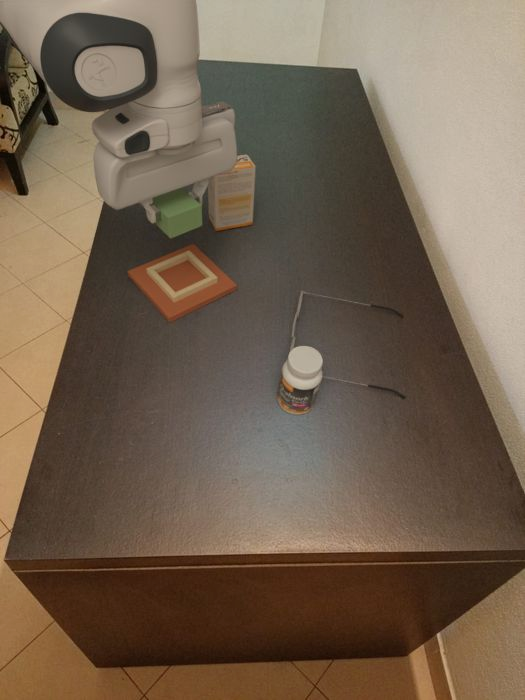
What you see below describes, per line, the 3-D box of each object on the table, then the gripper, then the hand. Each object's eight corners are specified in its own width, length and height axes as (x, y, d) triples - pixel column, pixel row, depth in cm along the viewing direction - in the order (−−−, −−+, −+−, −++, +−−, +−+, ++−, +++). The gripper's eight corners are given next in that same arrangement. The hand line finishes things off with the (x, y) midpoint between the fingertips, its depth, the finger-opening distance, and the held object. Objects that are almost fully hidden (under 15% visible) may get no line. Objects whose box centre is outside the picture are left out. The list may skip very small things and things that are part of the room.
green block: (170, 238, 68) (167, 217, 65) (150, 219, 70) (147, 198, 67) (202, 225, 70) (201, 204, 67) (182, 207, 73) (180, 186, 70)
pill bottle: (271, 409, 69) (278, 368, 61) (283, 379, 72) (290, 337, 64) (309, 421, 68) (320, 381, 60) (318, 390, 71) (330, 349, 64)
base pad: (169, 322, 78) (168, 312, 76) (128, 276, 84) (126, 265, 83) (237, 289, 84) (237, 279, 82) (193, 248, 91) (193, 238, 89)
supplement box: (245, 212, 99) (247, 153, 89) (253, 225, 97) (256, 166, 86) (207, 218, 97) (206, 158, 87) (214, 232, 94) (214, 171, 84)
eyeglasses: (297, 298, 84) (300, 282, 81) (401, 318, 83) (409, 302, 80) (282, 378, 72) (286, 362, 69) (403, 402, 72) (413, 387, 69)
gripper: (220, 89, 64) (220, 181, 75) (78, 125, 55) (101, 224, 66) (248, 107, 61) (244, 200, 72) (102, 149, 52) (123, 248, 63)
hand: (175, 212), depth 69 cm, fingers closed on green block, 5 cm apart
